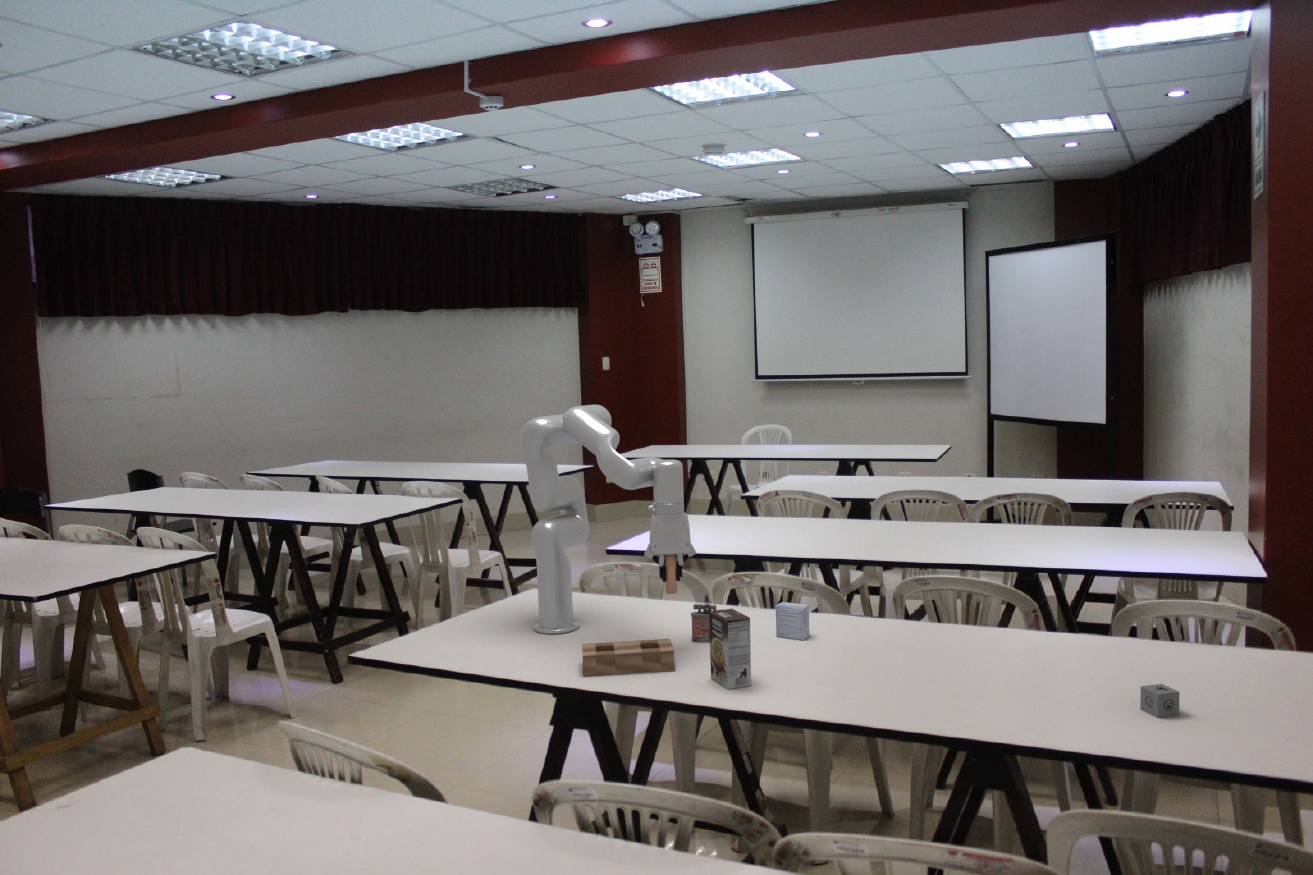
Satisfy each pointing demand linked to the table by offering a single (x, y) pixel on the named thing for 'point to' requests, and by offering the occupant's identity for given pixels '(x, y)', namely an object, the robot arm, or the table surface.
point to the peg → (671, 574)
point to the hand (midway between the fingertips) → (670, 579)
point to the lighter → (701, 623)
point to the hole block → (628, 657)
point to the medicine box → (792, 621)
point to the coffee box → (730, 648)
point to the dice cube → (1159, 701)
